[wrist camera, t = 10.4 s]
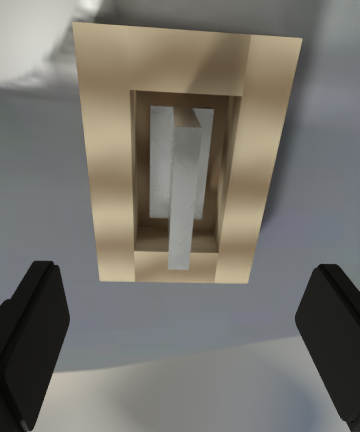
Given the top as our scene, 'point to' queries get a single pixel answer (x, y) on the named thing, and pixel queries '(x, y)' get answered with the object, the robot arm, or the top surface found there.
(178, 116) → the t bracket
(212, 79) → the well block
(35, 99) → the top surface
